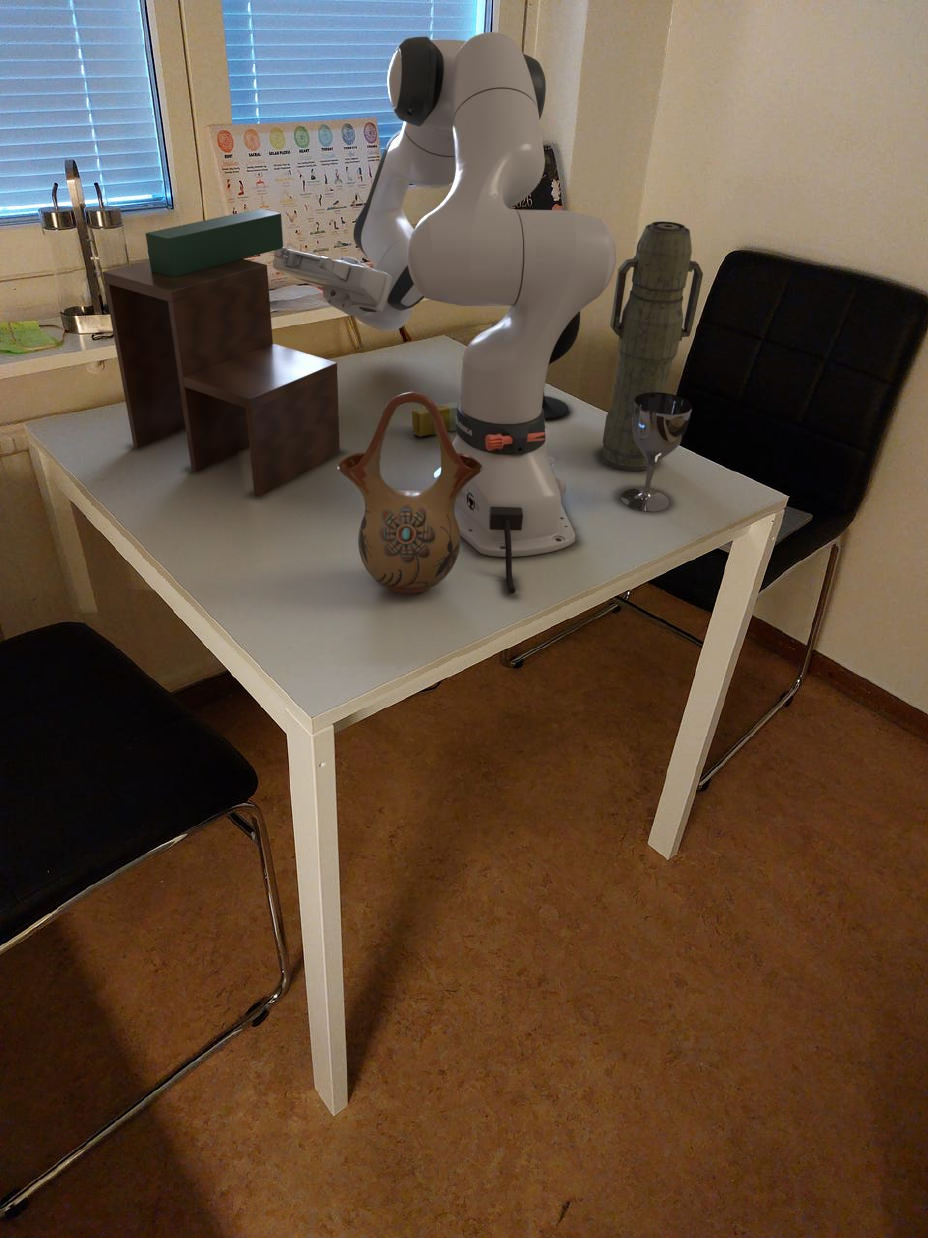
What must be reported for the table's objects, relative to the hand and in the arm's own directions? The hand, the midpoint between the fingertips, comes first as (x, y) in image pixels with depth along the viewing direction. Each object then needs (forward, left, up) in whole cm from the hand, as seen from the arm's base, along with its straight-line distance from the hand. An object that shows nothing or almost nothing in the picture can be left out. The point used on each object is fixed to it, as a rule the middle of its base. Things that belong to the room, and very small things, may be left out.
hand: (300, 256), depth 143 cm
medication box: (-19, -19, -24) cm, 36 cm away
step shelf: (-19, +15, -23) cm, 34 cm away
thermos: (-36, -44, -24) cm, 62 cm away
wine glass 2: (-49, -40, -24) cm, 68 cm away
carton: (-10, +13, +3) cm, 17 cm away
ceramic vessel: (-62, 0, -24) cm, 67 cm away
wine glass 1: (-14, -38, -24) cm, 47 cm away
